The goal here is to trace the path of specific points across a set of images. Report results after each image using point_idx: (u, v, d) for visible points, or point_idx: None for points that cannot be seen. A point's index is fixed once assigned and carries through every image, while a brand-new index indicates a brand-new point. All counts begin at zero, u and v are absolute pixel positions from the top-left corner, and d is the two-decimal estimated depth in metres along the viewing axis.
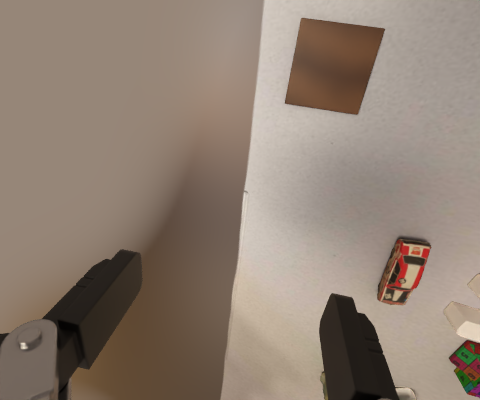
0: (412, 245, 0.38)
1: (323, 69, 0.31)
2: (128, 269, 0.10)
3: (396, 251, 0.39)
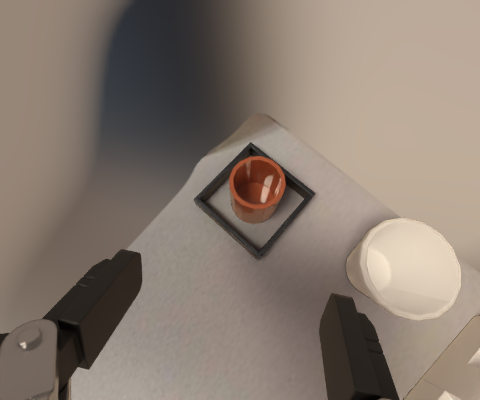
0: None
1: None
2: (128, 269, 0.10)
3: None
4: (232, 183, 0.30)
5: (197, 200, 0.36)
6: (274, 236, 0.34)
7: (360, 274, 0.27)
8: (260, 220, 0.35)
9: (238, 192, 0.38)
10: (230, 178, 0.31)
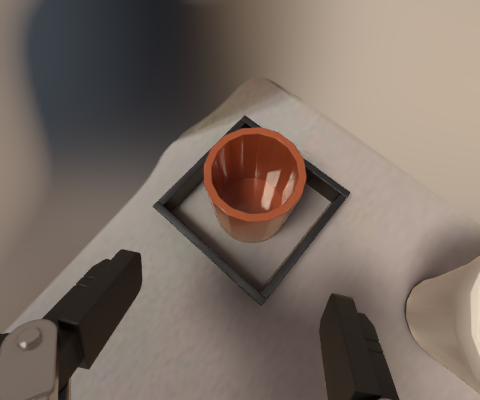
0: None
1: None
2: (128, 269, 0.10)
3: None
4: (209, 175, 0.17)
5: (158, 207, 0.22)
6: (286, 266, 0.20)
7: (471, 356, 0.13)
8: (262, 238, 0.21)
9: (226, 193, 0.24)
10: (205, 166, 0.17)
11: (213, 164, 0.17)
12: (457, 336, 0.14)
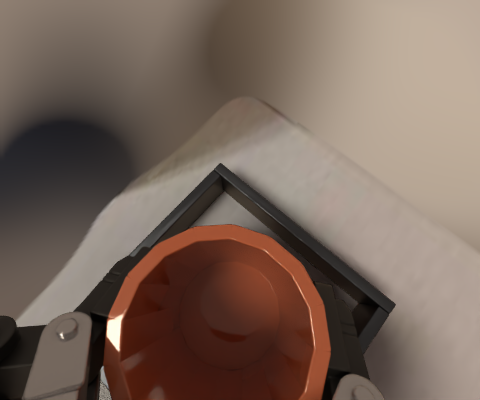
0: None
1: None
2: None
3: None
4: (116, 344, 0.08)
5: None
6: None
7: None
8: None
9: (190, 289, 0.15)
10: (111, 320, 0.08)
11: (131, 309, 0.08)
12: None
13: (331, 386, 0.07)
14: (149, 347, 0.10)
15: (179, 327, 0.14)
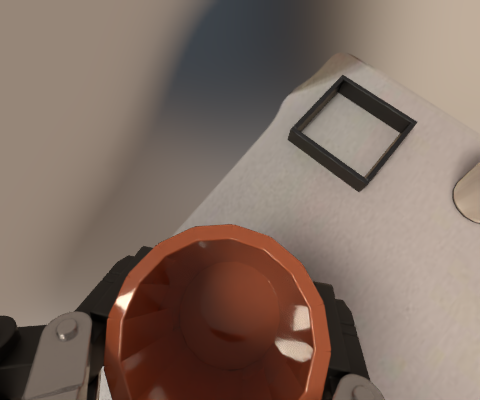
0: None
1: None
2: None
3: None
4: (116, 344, 0.08)
5: (294, 130, 0.34)
6: (380, 163, 0.33)
7: None
8: None
9: (190, 289, 0.15)
10: (111, 320, 0.08)
11: (131, 309, 0.08)
12: None
13: (331, 386, 0.07)
14: (149, 347, 0.10)
15: (179, 327, 0.14)
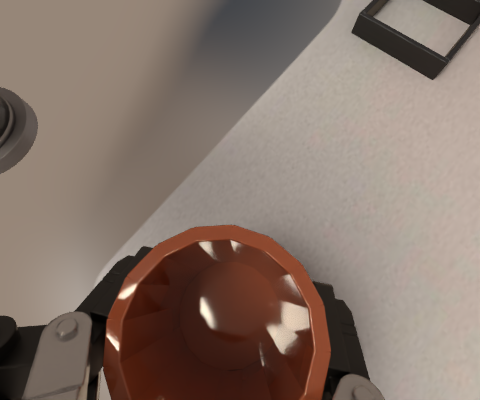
0: None
1: None
2: None
3: None
4: (116, 345, 0.08)
5: (364, 14, 0.32)
6: (459, 43, 0.30)
7: None
8: None
9: (190, 290, 0.15)
10: (110, 321, 0.08)
11: (130, 309, 0.08)
12: None
13: (331, 386, 0.07)
14: (149, 347, 0.10)
15: (179, 327, 0.14)
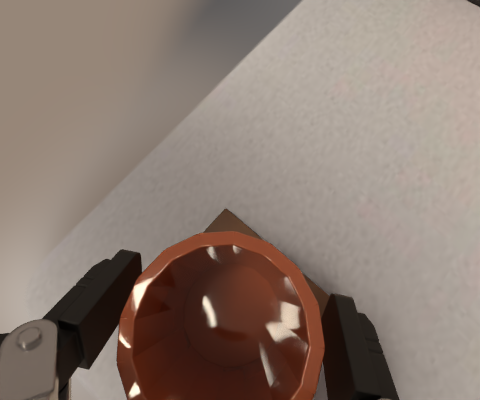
0: None
1: None
2: (128, 269, 0.10)
3: None
4: (128, 341, 0.08)
5: None
6: None
7: None
8: None
9: (194, 290, 0.16)
10: (123, 320, 0.08)
11: (141, 309, 0.09)
12: None
13: None
14: (157, 345, 0.10)
15: (183, 327, 0.15)
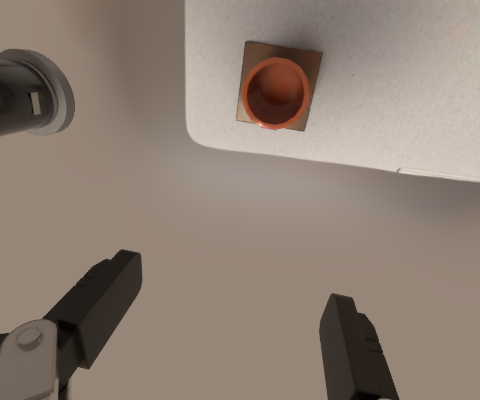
0: None
1: None
2: (128, 269, 0.10)
3: None
4: (251, 114, 0.27)
5: None
6: None
7: None
8: None
9: (256, 92, 0.33)
10: (246, 110, 0.27)
11: (248, 104, 0.27)
12: None
13: None
14: (258, 114, 0.29)
15: (261, 108, 0.33)
